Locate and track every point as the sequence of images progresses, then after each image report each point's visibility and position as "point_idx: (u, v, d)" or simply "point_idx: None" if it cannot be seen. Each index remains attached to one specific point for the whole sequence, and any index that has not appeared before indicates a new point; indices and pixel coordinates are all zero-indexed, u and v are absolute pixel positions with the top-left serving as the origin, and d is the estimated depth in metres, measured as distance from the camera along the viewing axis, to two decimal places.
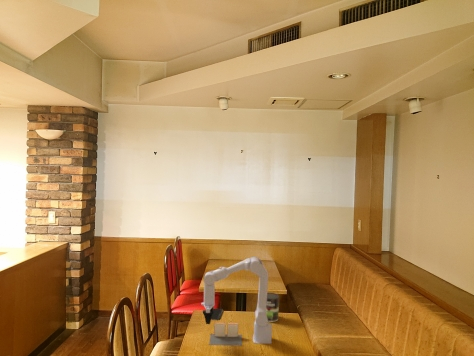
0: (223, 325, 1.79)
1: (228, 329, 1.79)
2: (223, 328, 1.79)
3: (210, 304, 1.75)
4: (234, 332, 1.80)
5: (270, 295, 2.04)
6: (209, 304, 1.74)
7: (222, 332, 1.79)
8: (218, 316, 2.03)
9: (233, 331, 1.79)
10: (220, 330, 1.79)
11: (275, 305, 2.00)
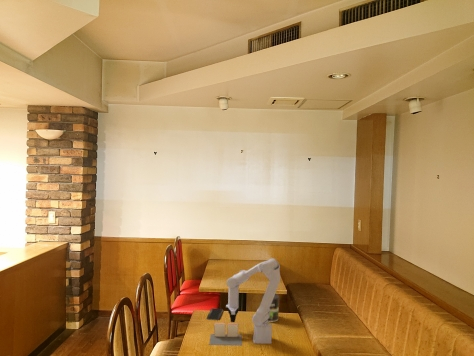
0: (223, 325, 1.79)
1: (228, 329, 1.79)
2: (223, 328, 1.79)
3: (234, 306, 1.84)
4: (234, 332, 1.80)
5: None
6: (234, 306, 1.84)
7: (222, 332, 1.79)
8: (218, 316, 2.03)
9: (233, 331, 1.79)
10: (220, 330, 1.79)
11: (276, 305, 2.00)
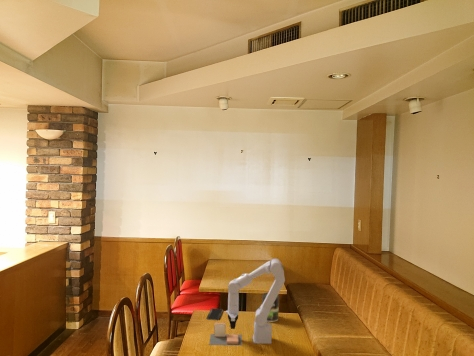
0: (223, 325, 1.79)
1: None
2: (223, 328, 1.79)
3: (234, 312, 1.76)
4: None
5: None
6: (233, 312, 1.76)
7: (222, 332, 1.79)
8: (218, 316, 2.03)
9: None
10: (220, 330, 1.79)
11: (275, 305, 2.00)
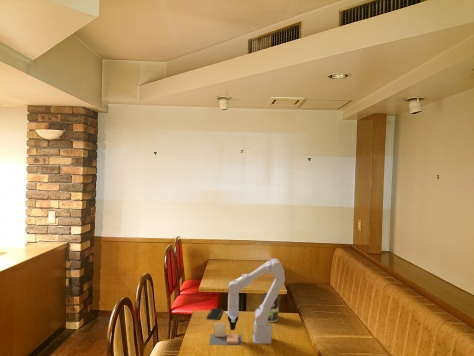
0: (223, 325, 1.79)
1: None
2: (223, 328, 1.79)
3: (234, 313, 1.75)
4: None
5: None
6: (233, 313, 1.75)
7: (222, 332, 1.79)
8: (218, 316, 2.03)
9: None
10: (220, 330, 1.79)
11: (275, 305, 2.00)
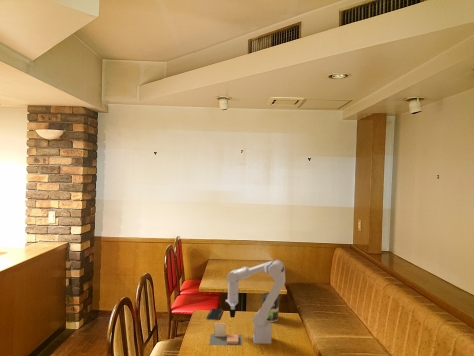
0: (223, 325, 1.79)
1: None
2: (223, 328, 1.79)
3: (234, 301, 1.81)
4: None
5: None
6: (233, 301, 1.81)
7: (222, 332, 1.79)
8: (218, 316, 2.03)
9: None
10: (220, 330, 1.79)
11: (275, 305, 2.00)
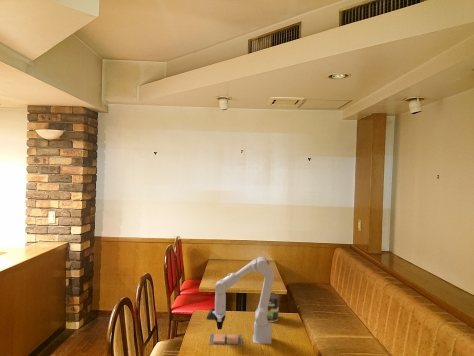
0: None
1: None
2: None
3: (221, 313, 1.75)
4: None
5: (270, 295, 2.04)
6: (220, 313, 1.75)
7: None
8: None
9: None
10: None
11: (276, 305, 2.00)
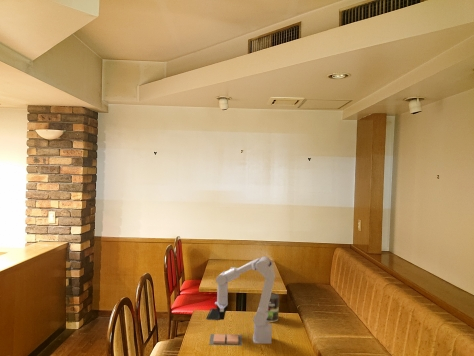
0: None
1: None
2: None
3: (223, 303, 1.82)
4: None
5: None
6: (222, 303, 1.82)
7: None
8: (218, 316, 2.03)
9: None
10: None
11: (275, 305, 2.00)
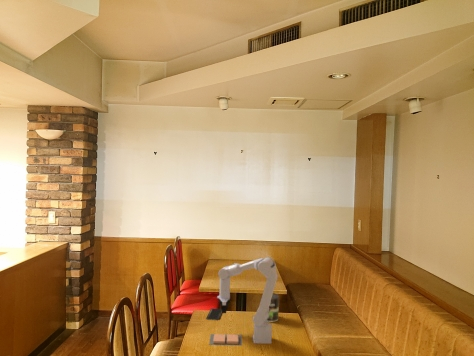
0: None
1: None
2: None
3: (226, 297, 1.84)
4: None
5: None
6: (225, 297, 1.83)
7: None
8: (218, 316, 2.03)
9: None
10: None
11: (275, 305, 2.00)
